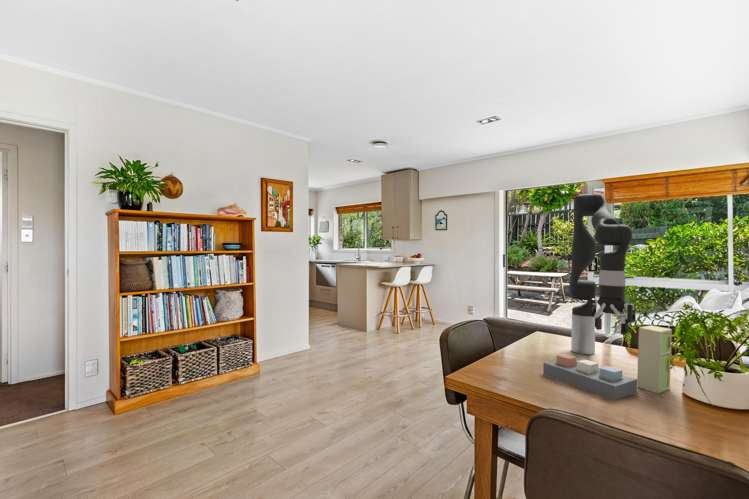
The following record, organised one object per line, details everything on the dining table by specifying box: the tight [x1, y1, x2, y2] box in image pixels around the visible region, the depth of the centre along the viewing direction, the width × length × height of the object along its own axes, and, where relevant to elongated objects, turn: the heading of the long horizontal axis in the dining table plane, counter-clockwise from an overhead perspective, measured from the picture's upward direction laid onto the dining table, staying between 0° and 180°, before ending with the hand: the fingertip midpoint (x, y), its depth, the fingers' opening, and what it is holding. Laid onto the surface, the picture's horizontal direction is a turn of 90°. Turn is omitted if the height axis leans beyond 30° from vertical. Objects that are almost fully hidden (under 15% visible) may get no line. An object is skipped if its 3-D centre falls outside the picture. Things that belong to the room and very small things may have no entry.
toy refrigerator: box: [636, 325, 673, 394], centre depth 128 cm, size 8×7×21 cm
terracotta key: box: [556, 353, 578, 367], centre depth 139 cm, size 5×5×4 cm
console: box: [542, 359, 638, 401], centre depth 133 cm, size 13×26×4 cm, turn 29°
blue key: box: [599, 365, 623, 382], centre depth 125 cm, size 5×5×4 cm
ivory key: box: [577, 359, 599, 374], centre depth 132 cm, size 5×5×4 cm
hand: (610, 331), depth 125 cm, fingers open, 7 cm apart
